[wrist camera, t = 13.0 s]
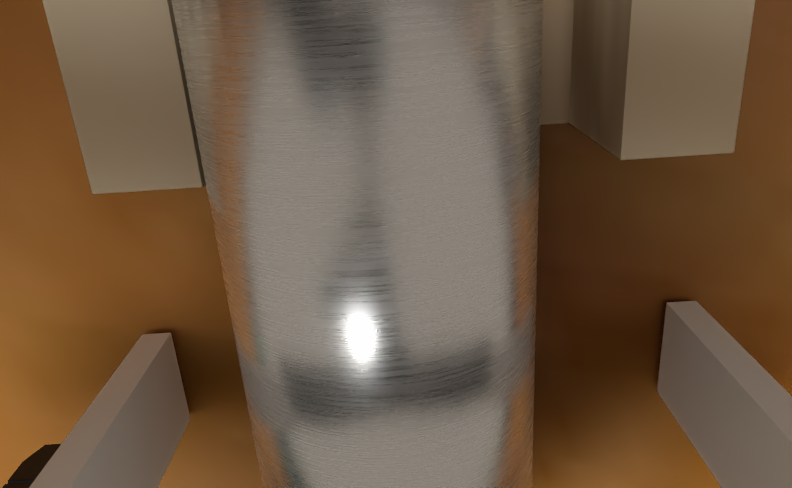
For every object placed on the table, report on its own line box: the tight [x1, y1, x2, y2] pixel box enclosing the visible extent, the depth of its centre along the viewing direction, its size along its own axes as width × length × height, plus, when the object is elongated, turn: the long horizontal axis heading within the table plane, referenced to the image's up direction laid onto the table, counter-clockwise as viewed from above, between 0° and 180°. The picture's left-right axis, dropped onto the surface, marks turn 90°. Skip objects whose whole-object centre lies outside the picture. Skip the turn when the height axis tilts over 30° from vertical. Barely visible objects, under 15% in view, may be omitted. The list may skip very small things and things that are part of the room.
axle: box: [171, 0, 543, 488], centre depth 13 cm, size 14×6×6 cm, turn 4°
